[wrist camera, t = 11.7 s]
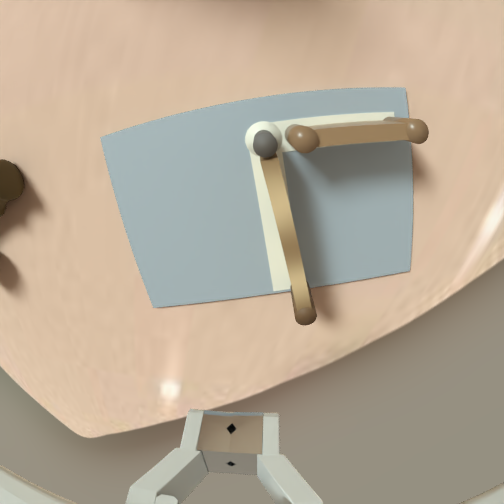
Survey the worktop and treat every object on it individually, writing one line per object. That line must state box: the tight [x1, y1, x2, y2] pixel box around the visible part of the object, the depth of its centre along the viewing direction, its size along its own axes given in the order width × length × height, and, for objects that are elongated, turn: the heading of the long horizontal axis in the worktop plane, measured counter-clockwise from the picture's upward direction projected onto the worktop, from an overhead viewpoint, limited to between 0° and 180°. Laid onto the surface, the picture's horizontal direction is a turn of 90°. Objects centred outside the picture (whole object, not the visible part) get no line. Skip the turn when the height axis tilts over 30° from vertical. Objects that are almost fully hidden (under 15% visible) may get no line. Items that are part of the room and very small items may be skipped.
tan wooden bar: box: [253, 130, 317, 325], centre depth 24 cm, size 16×2×5 cm, turn 15°
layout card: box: [100, 88, 429, 308], centre depth 24 cm, size 27×18×6 cm, turn 100°
